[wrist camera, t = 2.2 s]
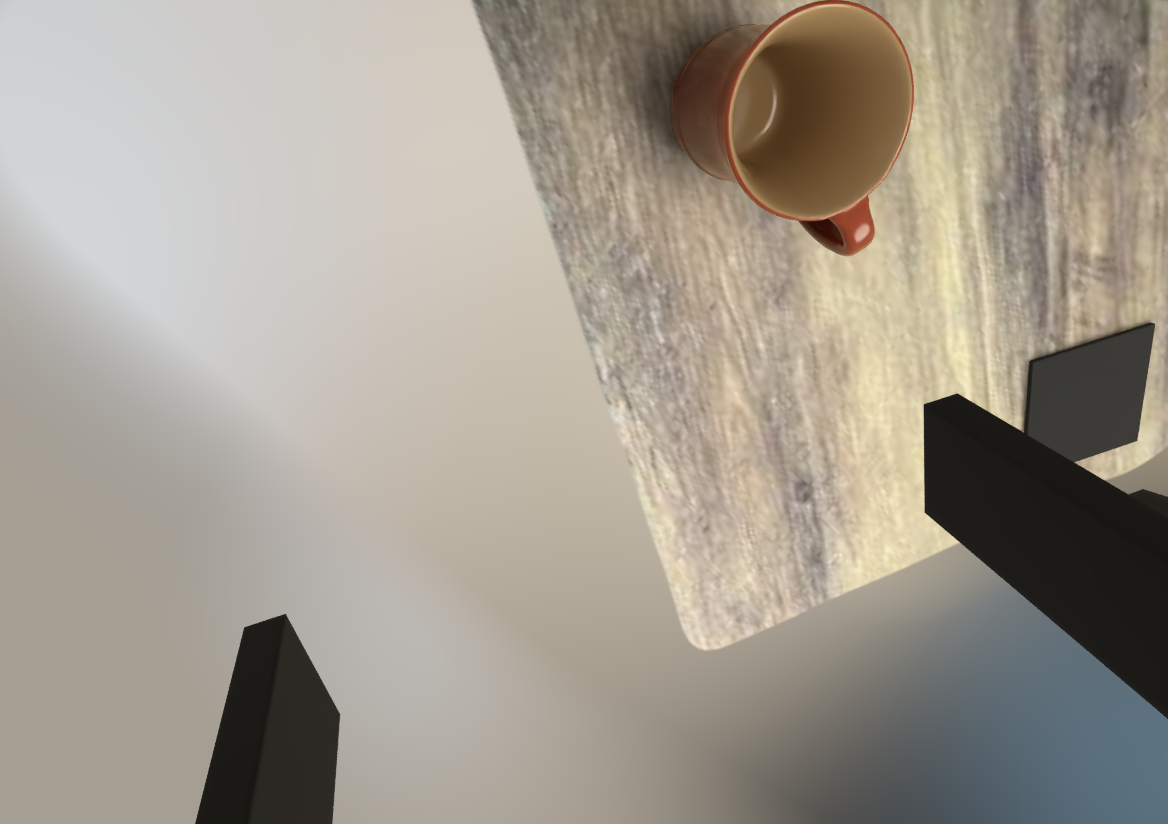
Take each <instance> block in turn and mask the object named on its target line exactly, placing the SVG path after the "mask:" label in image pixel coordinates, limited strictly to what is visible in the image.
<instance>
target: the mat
mask: <svg viewBox="0 0 1168 824" xmlns="http://www.w3.org/2000/svg"><path fill="white" fill-rule="evenodd" d="M1154 328H1155V324H1154V323H1149V324H1146V325H1143V326H1140V327H1137V328H1133V329H1130V330H1127V331H1124V332H1121V333H1118V334H1115V335H1111V336H1108V337H1105V338H1102V339H1099V340H1096V341H1093V342H1089V343H1086V344H1083V345H1080V346H1077V347H1074V348H1071V349H1067V350H1064V351H1061V352H1058V353H1055V354H1052V355H1049V356H1045V357H1042V358H1039V359H1036V360H1033V361H1030V370H1029V384H1028V398H1027V411H1026V425H1025V434H1027V435H1028V436H1030V437H1032V438H1034V439H1035V440H1037V441H1039V442H1040V443H1042V444H1044V445H1045V446H1047V447H1049V448H1050V449H1052V450H1054V451H1055V452H1057V453H1059V454H1061V455H1062V456H1064V457H1066V458H1067V459H1069V460H1071V461H1072V462H1076V461H1079V460H1082V459H1085V458H1088V457H1091V456H1094V455H1097V454H1100V453H1103V452H1106V451H1109V450H1112V449H1114V448H1117V447H1120V446H1123V445H1126V444H1129V443H1132V442H1135V441H1137V438H1138V432H1139V425H1140V419H1141V412H1142V406H1143V399H1144V393H1145V386H1146V380H1147V374H1148V367H1149V361H1150V354H1151V348H1152V341H1153V335H1154Z"/></svg>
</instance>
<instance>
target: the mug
mask: <svg viewBox="0 0 1168 824" xmlns="http://www.w3.org/2000/svg"><path fill="white" fill-rule="evenodd" d="M913 100H914V85H913V75H912V70H911V65H910V62H909V58H908V55H907V52H906V50H905V47H904V45H903V43H902V41H901V40H900V38H899V36H898V35H897V33H896V32H895V30H894V29H893V28H892V27H891V26H890V24H889V23H888V22H887V21H886V20H885V19H883V18H882V17H881V16H880V15H878V14H877V13H876V12H874V11H872V10H871V9H869V8H867V7H865V6H862V5H860V4H857V3H853V2H849V1H843V0H825V1H818V2H814V3H810V4H807V5H804V6H801V7H799V8H796V9H794V10H792V11H790V12H788V13H787V14H785V15H784V16H782V17H780V18H779V19H778V20H776V21H775V22H774V23H773V24H768V25H755V24H751V25H740V26H736V27H732V28H729V29H727V30H724V31H722V32H720V33H718V34H716V35H714V36H712V37H710V38H709V39H707V40H706V41H705V42H703V43H702V44H701V45H700V46H698V47H697V48H696V49H695V50H694V51H693V52H692V53H691V54H690V55H689V56H688V58H687V59H686V60H685V62H684V63H683V65H682V66H681V68H680V70H679V72H678V74H677V76H676V79H675V81H674V84H673V88H672V92H671V98H670V120H671V125H672V129H673V132H674V135H675V138H676V140H677V142H678V144H679V145H680V147H681V148H682V150H683V151H684V152H685V154H686V155H687V156H688V157H689V158H690V159H691V160H692V161H693V162H694V163H695V164H696V165H697V166H698V167H699V168H700V169H701V170H703V171H704V172H706V173H707V174H709V175H711V176H713V177H715V178H718V179H721V180H726V181H730V182H733V183H736V184H739V185H740V186H741V188H742V189H743V190H744V192H745V193H746V194H747V195H748V196H749V197H750V198H751V199H752V200H753V201H754V202H755V203H756V204H757V205H759V206H760V207H762V208H763V209H764V210H766V211H768V212H770V213H772V214H774V215H776V216H779V217H782V218H786V219H791V220H798V221H799V223H800V224H801V225H802V226H803V227H804V228H805V230H806V231H807V232H808V233H809V234H810V235H811V236H812V237H813V238H814V239H815V240H817V241H818V242H819V243H820V244H822V245H823V246H824V247H826V248H828V249H829V250H831V251H833V252H835V253H837V254H839V255H842V256H852V255H854V254H856V253H858V252H859V251H861V250H862V249H864V248H865V247H867V246H868V245H869V244H870V243H871V242H872V240H873V238H874V234H875V229H874V223H873V219H872V216H871V213H870V209H869V199H868V195H869V194H870V193H871V192H872V191H873V190H874V189H875V188H876V187H877V186H878V185H879V184H881V182H882V181H883V180H884V179H885V178H886V176H887V175H888V173H889V172H890V170H891V168H892V167H893V165H894V163H895V161H896V159H897V157H898V155H899V153H900V151H901V149H902V146H903V144H904V141H905V139H906V136H907V133H908V130H909V126H910V121H911V117H912V110H913Z"/></svg>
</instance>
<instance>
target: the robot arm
mask: <svg viewBox="0 0 1168 824" xmlns="http://www.w3.org/2000/svg"><path fill="white" fill-rule="evenodd" d="M924 487H925V513H926V514H927V515H928V516H930V517H931V518H932V519H933V520H934V521H935V522H937V523H938V524H939V525H940V526H941V527H942V528H944V529H945V530H946V531H947V532H948V533H950V534H951V535H952V536H953V537H954V538H955V539H957V540H958V541H959V542H960V543H961V544H963V545H964V546H965V547H966V548H967V549H968V550H970V551H971V552H972V553H973V554H974V555H976V556H977V557H978V558H979V559H980V560H981V561H983V562H984V563H985V564H986V565H987V566H988V567H990V568H991V569H992V570H993V571H995V573H997V574H998V575H999V576H1000V577H1002V578H1003V579H1004V580H1005V581H1006V582H1007V583H1009V584H1010V585H1011V586H1012V587H1013V588H1015V589H1016V590H1017V591H1018V592H1019V593H1020V594H1021V595H1023V596H1024V597H1025V598H1026V599H1027V600H1029V601H1030V602H1031V603H1032V604H1033V605H1034V606H1036V607H1037V608H1038V609H1039V610H1040V611H1042V612H1043V613H1044V614H1045V615H1046V616H1048V617H1049V618H1050V619H1051V620H1052V621H1053V622H1054V623H1056V624H1057V625H1058V626H1059V627H1060V628H1061V629H1063V630H1064V631H1065V632H1066V633H1067V634H1069V635H1070V636H1071V637H1072V638H1073V639H1074V640H1076V641H1077V642H1078V643H1079V644H1080V645H1082V646H1083V647H1084V648H1085V649H1086V650H1087V651H1089V652H1090V653H1091V654H1092V655H1093V656H1095V657H1096V658H1097V659H1098V660H1099V661H1100V662H1102V663H1103V664H1104V665H1105V666H1106V667H1107V668H1109V669H1110V670H1111V671H1112V672H1114V673H1115V674H1116V675H1117V676H1118V677H1119V678H1121V679H1122V680H1123V681H1124V682H1125V683H1127V685H1129V686H1130V687H1131V688H1132V689H1133V690H1135V691H1136V692H1137V693H1138V694H1139V695H1140V696H1142V697H1143V698H1144V699H1145V700H1146V701H1148V702H1149V703H1150V704H1151V705H1152V706H1153V707H1155V708H1156V709H1157V710H1158V711H1159V712H1160V713H1162V714H1163V715H1164V716H1165V717H1166V718H1167V719H1168V497H1166V496H1163V495H1159V494H1157V493H1154V492H1150V491H1147V490H1144V489H1142V490H1140V491H1137V492H1134V493H1131V494H1126V493H1125V492H1123V491H1121V490H1120V489H1118V488H1116V487H1115V486H1113V485H1111V484H1110V483H1108V482H1106V481H1105V480H1103V479H1101V478H1099V477H1098V476H1096V475H1094V474H1093V473H1091V472H1089V471H1088V470H1086V469H1084V468H1083V467H1081V466H1079V465H1077V464H1076V463H1074V462H1072V461H1071V460H1069V459H1067V458H1066V457H1064V456H1062V455H1061V454H1059V453H1057V452H1055V451H1054V450H1052V449H1050V448H1049V447H1047V446H1045V445H1044V444H1042V443H1040V442H1039V441H1037V440H1035V439H1034V438H1032V437H1030V436H1028V435H1027V434H1025V433H1023V432H1022V431H1020V430H1018V429H1017V428H1015V427H1013V426H1012V425H1010V424H1008V423H1006V422H1005V421H1003V420H1001V419H1000V418H998V417H996V416H995V415H993V414H991V413H990V412H988V411H986V410H984V409H983V408H981V407H979V406H978V405H976V404H974V403H973V402H971V401H969V400H968V399H966V398H964V397H963V396H961V395H959V394H954V395H951V396H948V397H945V398H942V399H939V400H936V401H933V402H930V403H927V404H924ZM339 721H340V713H339V712H338V710H337V708H336V706H335V704H334V702H333V700H332V699H331V697H330V695H329V693H328V691H327V689H326V688H325V686H324V684H323V682H322V680H321V679H320V676H319V675H318V673H317V671H316V669H315V667H314V665H313V664H312V662H311V660H310V658H309V656H308V655H307V653H306V651H305V649H304V647H303V645H302V643H301V642H300V640H299V638H298V636H297V634H296V632H295V630H294V628H293V627H292V625H291V623H290V621H289V619H288V618H287V616H286V614H284V615H281V616H278V617H275V618H272V619H268V620H266V621H263V622H259V623H256V624H253V625H250V626H247V627H245V628H244V631H243V635H242V639H241V643H240V647H239V651H238V655H237V659H236V663H235V667H234V671H233V675H232V679H231V683H230V687H229V691H228V695H227V699H226V703H225V707H224V711H223V715H222V719H221V723H220V727H219V731H218V735H217V739H216V743H215V747H214V751H213V755H212V759H211V763H210V767H209V771H208V775H207V779H206V783H205V787H204V791H203V795H202V799H201V803H200V807H199V811H198V815H197V819H196V823H195V824H332V820H333V806H334V792H335V778H336V764H337V750H338V736H339V735H338V734H339Z"/></svg>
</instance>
